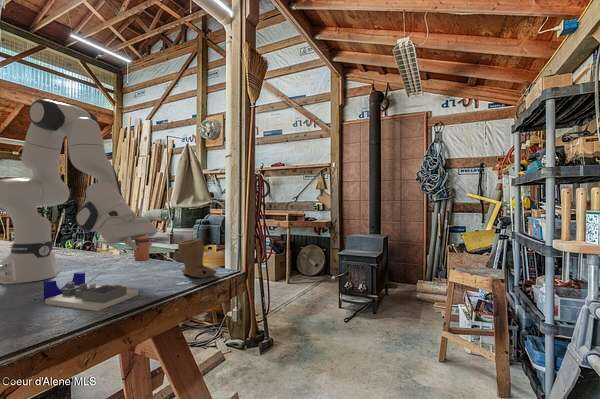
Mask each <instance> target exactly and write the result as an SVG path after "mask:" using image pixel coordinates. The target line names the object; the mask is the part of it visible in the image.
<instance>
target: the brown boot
mask: <svg viewBox="0 0 600 399" xmlns="http://www.w3.org/2000/svg"><path fill="white" fill-rule="evenodd" d="M177 245H178V247H177V248H178V253H179V255H180V257H181V259H182V261H183V264H184V268H183V269H181V273H183V274H185V275H188V276H191V277H194V278H200V279H202V278H203V279H204V278H208V277H209V278H210V277H211V276H213V275H216V274H217V270H216V269H213V268H211V267H207V266H205V265H204V251H205V249H204V241H203V240H202V239H201V238H192V239H187V240H182V241H180V242H178V244H177Z"/></svg>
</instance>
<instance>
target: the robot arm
mask: <svg viewBox="0 0 600 399" xmlns="http://www.w3.org/2000/svg"><path fill="white" fill-rule="evenodd" d="M29 106H30V107H29V110H28V117H29V119H30V125H29V126H28V130H27V131H26V135H25V138H24V139H25V140H24V143H23V147H22V153H21V158H20V159H21V163H22V165H24V166H25V167H26V168H28V169H29V170H31V171H32V178H22V177H21V178H20V177H12V178H11V177H10V178H3V179H0V208H1V209H2V210H4V211H5V212H6V213H7V215H8V216H9V218H10V219H11V222H12V226H13V228H12V229H13V244H10V245H9V246H10V247H9V249H10V254H8V255H7V256H6V257H5V258H4V259H2V260H1V261H0V284H3V285H14V284H22V283H32V282H38V281H43V280H44V281H45V280H49V279H52V278H54V277H56V276H57V275H58V274H59V273H60V271H59V269H57V262H56V256H55V253H53V249H54V248H53V247H54V243H53V240H52V222H51V221H50V220H49V219H48V218H46V217H44V216H42V215H40V213H39V212H38V208H37V207H39V208H41V207H54V206H59V205H63V204H65V203H66V202H67V201H68V200H69V199H70V195H71V194H70V189H69V187H68V185H67V184H66V183H65V182H64V181H63V179H62V178H61V176H60V172H59V162H60V156H61V151H62V147H63V141H64V139H65V137H66V139H67V149H68V150H67V151H68V158H69V160H70V162H71V164H72V165H73V166H74V168H76V170H79V171H80V172H82V173H84V174H87V175H89V176H91V177H92V178H94V179H95V180H97V182H95V183H92V184H90V185H89V186H88V187H87V188H86V190H85V196H86V197H85V200H84V202H83V204H82V206H81V207H80V208H79V209H78V210H77V211H76V213H75V222H76V224H77V227H79V229H80V230H81V231H83V232H85V233H86V232H90V233H91V232H99V234H100V236H101V237H102V239H103V240H104V241H105V242H106V243H107V244H109V245H115V244H119V243H124V245H127V246H128V247H130V248H131V249H132V250H133V251H135V250H138V249H139V248H140V246H139V245H138V243H135V237H140V236H148V237H149V238H150V239H151V238H153V237H154V236H155V235H156V234H158V228H157V227H156V225H154V224H153V223H152V221H151V220H150V219H148V217H143V216H137V214H136V213H135V212H134V210H133V209H132V208H131V207H130V205H129V204H128V203H127V202H126V201H125V200H124V198H123V193H122V190H121V186H120V182H119V178H118V175H117V172H116V169H115V168H114V166H113V165H112V164H111V163H110V161H109V159H108V156H107V155H106V154H107V153H106V151H105V145H104V139H103V138H104V137H103V135H102V131H101V128H100V125H99V120H98V117H97V115H95V114H94V113H93V112H91V111H89V110H88V109H84V108H81V107H78V106H76V105H71V104H69V103H63V102H58V101H53V100H52V99H47V98H46V99H45V98H44V99H43V98H42V99H41V98H40V99H36V100H35V101H33V103H32V104H31V105H29ZM152 245H153V243H152V241H151V240H150V241H149V248H151V247H152Z"/></svg>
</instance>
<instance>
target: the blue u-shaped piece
mask: <svg viewBox="0 0 600 399" xmlns="http://www.w3.org/2000/svg"><path fill="white" fill-rule="evenodd" d="M42 281H43V280H42ZM71 282H75V286H79V285H81V284H86V272H81V271H77V272H73V277H72V280H71V281H68V282H66V283H65V285H63V287H61V288H59V286H58V285H57V280H51V279H46V280H44V281H43V283H42V284H43V301H45V299H47V298H50V297H54V296H57V295H60V294H62V289H64V288H67V284H68V283H71Z"/></svg>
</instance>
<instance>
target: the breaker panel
mask: <svg viewBox="0 0 600 399" xmlns="http://www.w3.org/2000/svg"><path fill="white" fill-rule="evenodd" d="M70 282H71V281H70ZM67 283H68V282H67ZM67 283H66V284H67ZM136 296H139V290H138V289H133V288H132V289H131V288H128V287H127V286H124V285H121V284H115V285H109V284H102V285H97V283H95V282H92V283H89V284H88V285H87V283H85V284H81V285H79V286H75V282H71V283H68V284H67V288H64V289H62V294H60V295H57V296H54V297H50V298H47V299H45V300H44V305H49V306H55V307H56V306H58V307H64V308H71V309H80V310H81V309H82V310H86V311H87V310H88V311H95V312H99V311H101V310H103V309H107V308H108V307H112V306H114V305H116V304H119V303H122V302H123V301H127V300H128V299H131V298H134V297H136Z"/></svg>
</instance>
